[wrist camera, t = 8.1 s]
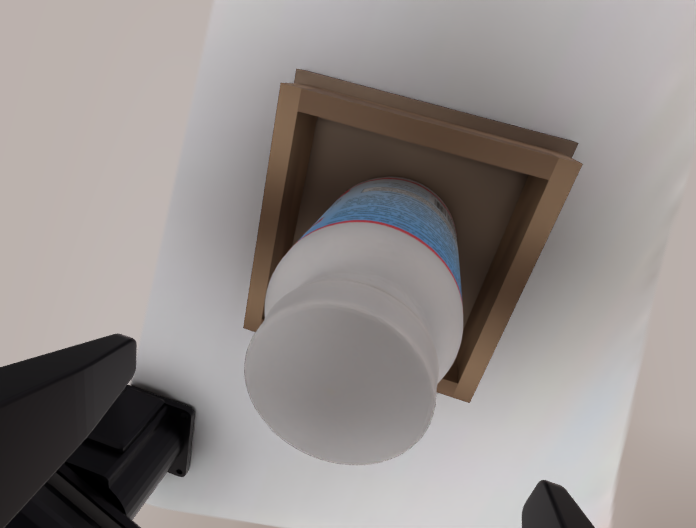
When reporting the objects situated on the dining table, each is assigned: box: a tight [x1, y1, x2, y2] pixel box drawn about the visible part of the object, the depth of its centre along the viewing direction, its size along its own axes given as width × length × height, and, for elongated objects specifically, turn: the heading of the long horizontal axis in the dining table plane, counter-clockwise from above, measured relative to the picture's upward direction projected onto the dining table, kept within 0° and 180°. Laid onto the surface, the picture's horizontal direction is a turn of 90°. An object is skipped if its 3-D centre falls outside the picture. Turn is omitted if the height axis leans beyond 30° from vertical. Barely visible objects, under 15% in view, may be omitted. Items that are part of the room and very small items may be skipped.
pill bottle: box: [244, 177, 463, 465], centre depth 15 cm, size 6×6×11 cm
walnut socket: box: [243, 69, 582, 403], centre depth 19 cm, size 12×12×4 cm
